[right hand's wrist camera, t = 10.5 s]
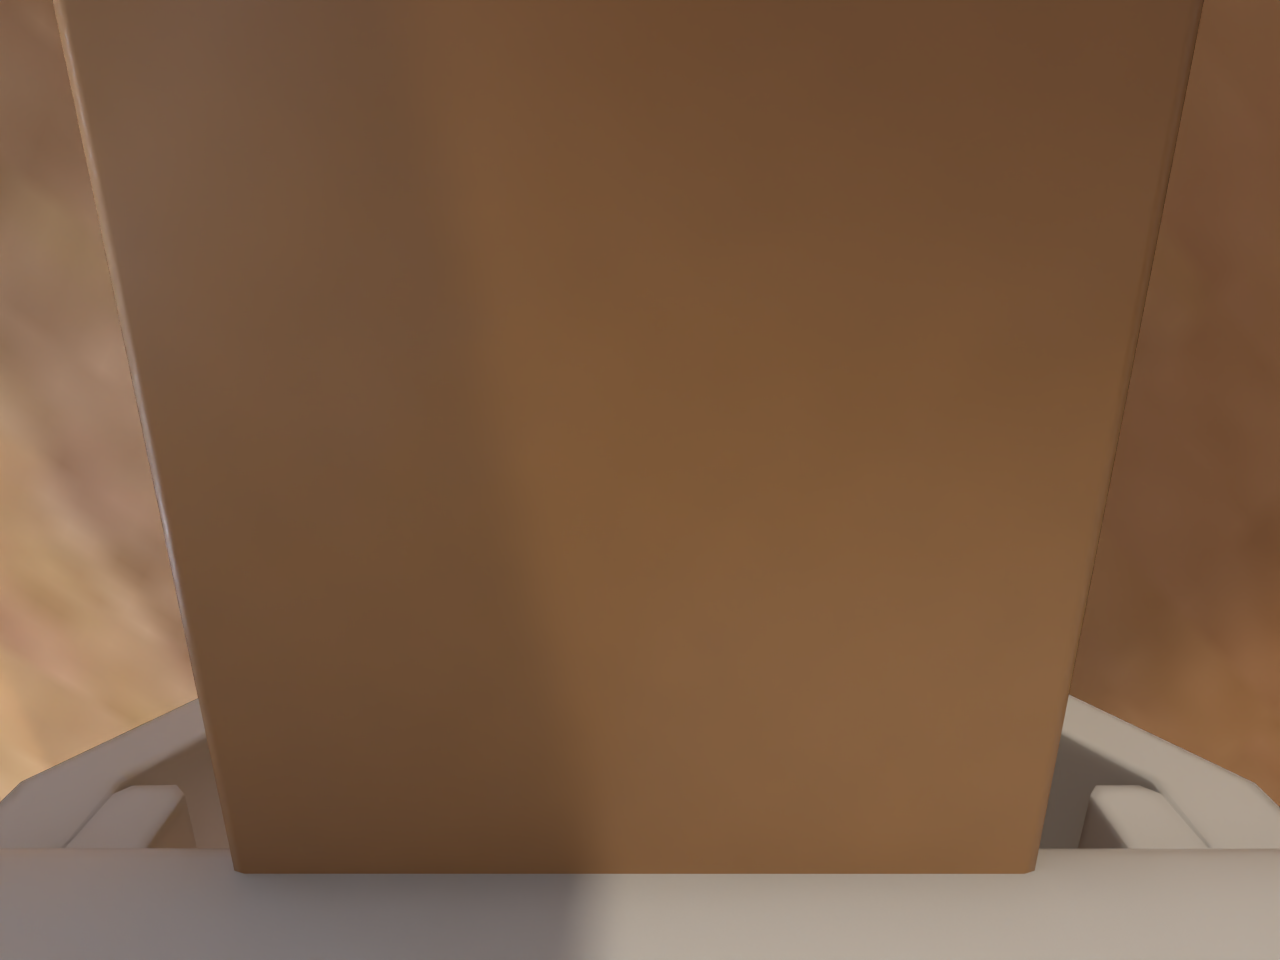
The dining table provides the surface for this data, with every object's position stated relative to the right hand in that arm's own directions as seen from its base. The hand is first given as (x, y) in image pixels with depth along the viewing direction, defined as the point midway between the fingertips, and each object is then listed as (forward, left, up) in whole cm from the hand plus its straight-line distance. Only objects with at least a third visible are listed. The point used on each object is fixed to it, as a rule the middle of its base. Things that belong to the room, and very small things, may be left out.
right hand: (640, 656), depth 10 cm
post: (+3, -28, -4) cm, 28 cm away
